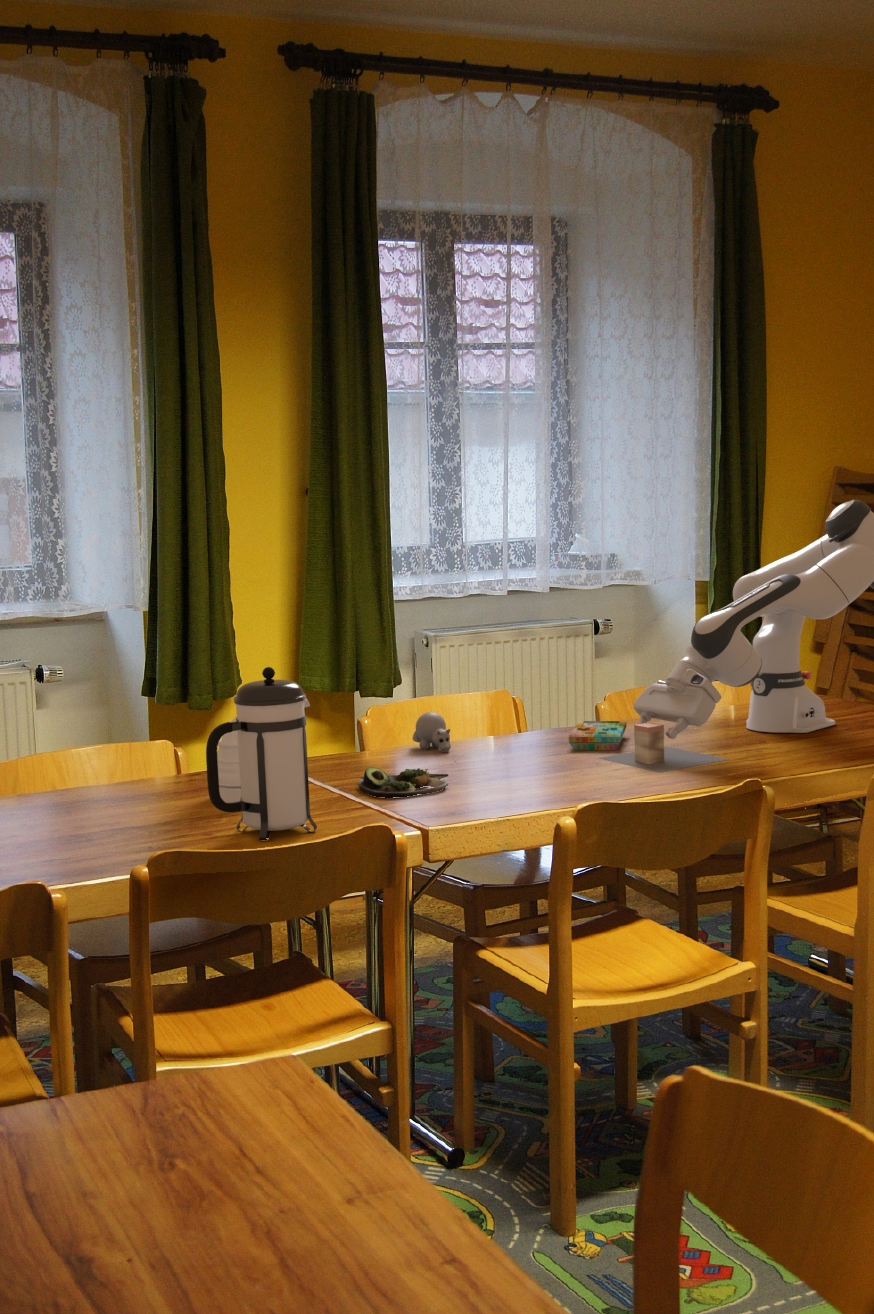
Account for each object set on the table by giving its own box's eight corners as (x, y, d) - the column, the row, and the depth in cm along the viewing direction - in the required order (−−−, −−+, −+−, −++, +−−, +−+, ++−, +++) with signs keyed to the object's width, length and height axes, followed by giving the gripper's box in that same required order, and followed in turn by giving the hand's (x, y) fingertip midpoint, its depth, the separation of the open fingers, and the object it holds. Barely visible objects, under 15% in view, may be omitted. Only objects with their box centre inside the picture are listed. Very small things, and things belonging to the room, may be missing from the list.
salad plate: (432, 776, 278) (431, 754, 277) (469, 791, 262) (468, 769, 261) (348, 787, 270) (347, 765, 269) (380, 803, 254) (379, 780, 253)
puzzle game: (568, 732, 296) (577, 718, 316) (569, 753, 297) (578, 737, 316) (620, 733, 294) (626, 718, 313) (620, 753, 294) (626, 737, 314)
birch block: (650, 758, 285) (649, 722, 284) (664, 761, 281) (663, 725, 280) (634, 761, 282) (634, 724, 281) (648, 764, 278) (648, 727, 278)
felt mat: (666, 747, 297) (666, 746, 297) (729, 760, 281) (729, 759, 281) (598, 759, 287) (598, 758, 287) (660, 773, 270) (660, 772, 270)
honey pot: (287, 792, 265) (283, 705, 263) (254, 806, 254) (249, 716, 251) (234, 788, 270) (229, 703, 268) (199, 802, 259) (194, 713, 257)
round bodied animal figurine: (431, 765, 300) (436, 734, 296) (407, 739, 309) (412, 708, 305) (458, 760, 303) (463, 729, 300) (433, 735, 312) (438, 704, 309)
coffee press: (251, 819, 243) (242, 661, 240) (330, 822, 239) (322, 661, 235) (209, 843, 227) (199, 674, 223) (293, 847, 222) (284, 674, 218)
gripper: (647, 671, 292) (615, 719, 288) (712, 680, 275) (679, 731, 271) (662, 689, 295) (630, 736, 291) (727, 698, 278) (695, 749, 274)
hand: (654, 734), depth 281 cm, fingers open, 8 cm apart
